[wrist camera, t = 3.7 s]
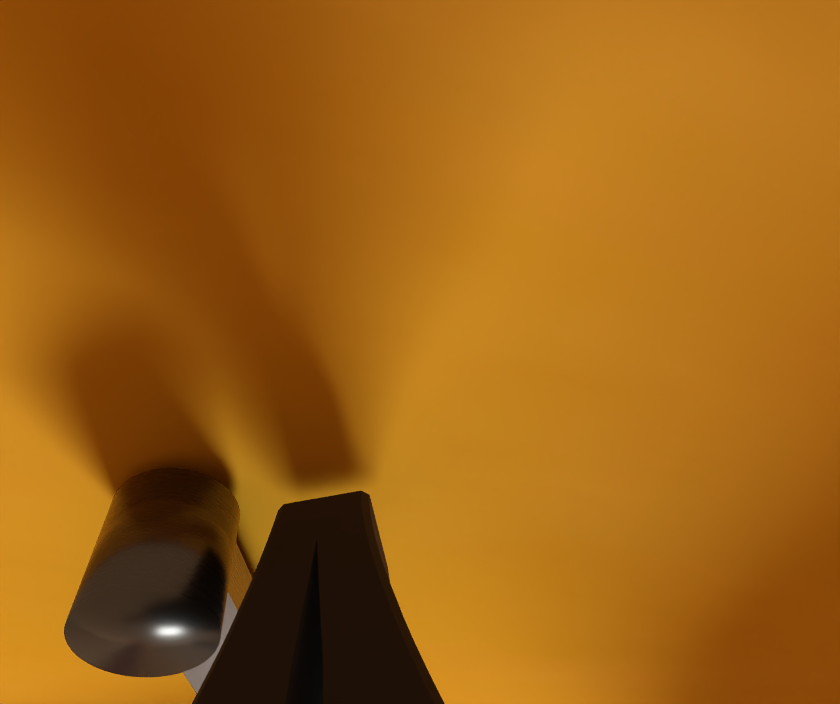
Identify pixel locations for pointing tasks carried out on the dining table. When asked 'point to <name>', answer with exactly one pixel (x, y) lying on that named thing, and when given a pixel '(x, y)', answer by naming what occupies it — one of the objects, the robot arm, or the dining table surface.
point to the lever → (161, 579)
